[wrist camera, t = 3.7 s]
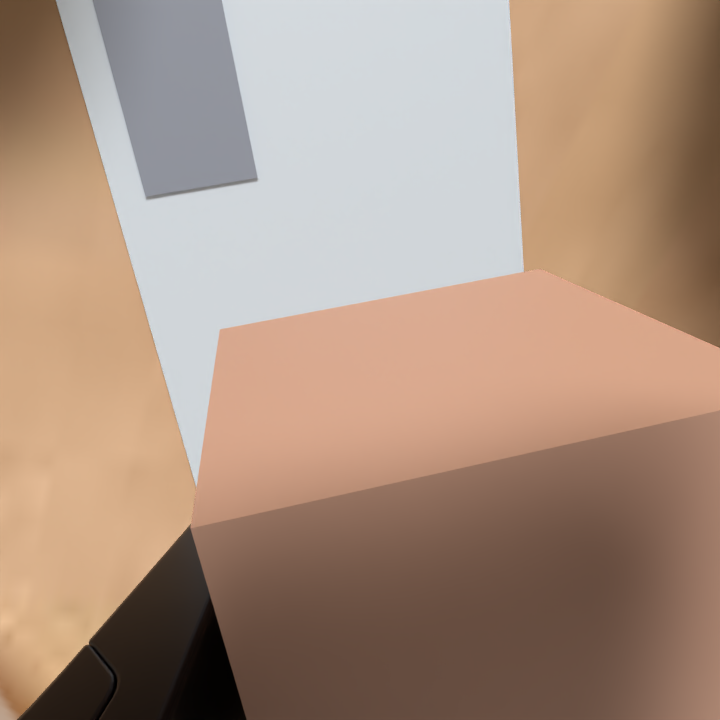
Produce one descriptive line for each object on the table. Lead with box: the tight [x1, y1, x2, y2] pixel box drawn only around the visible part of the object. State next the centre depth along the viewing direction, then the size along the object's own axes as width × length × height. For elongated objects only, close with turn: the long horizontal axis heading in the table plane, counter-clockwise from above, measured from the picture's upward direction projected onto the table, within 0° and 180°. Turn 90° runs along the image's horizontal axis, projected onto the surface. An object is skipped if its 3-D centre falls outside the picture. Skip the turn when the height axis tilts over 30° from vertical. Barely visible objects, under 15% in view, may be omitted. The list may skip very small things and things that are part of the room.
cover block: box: [190, 269, 720, 720], centre depth 8 cm, size 5×5×5 cm
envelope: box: [56, 0, 524, 487], centre depth 19 cm, size 12×18×1 cm, turn 9°
